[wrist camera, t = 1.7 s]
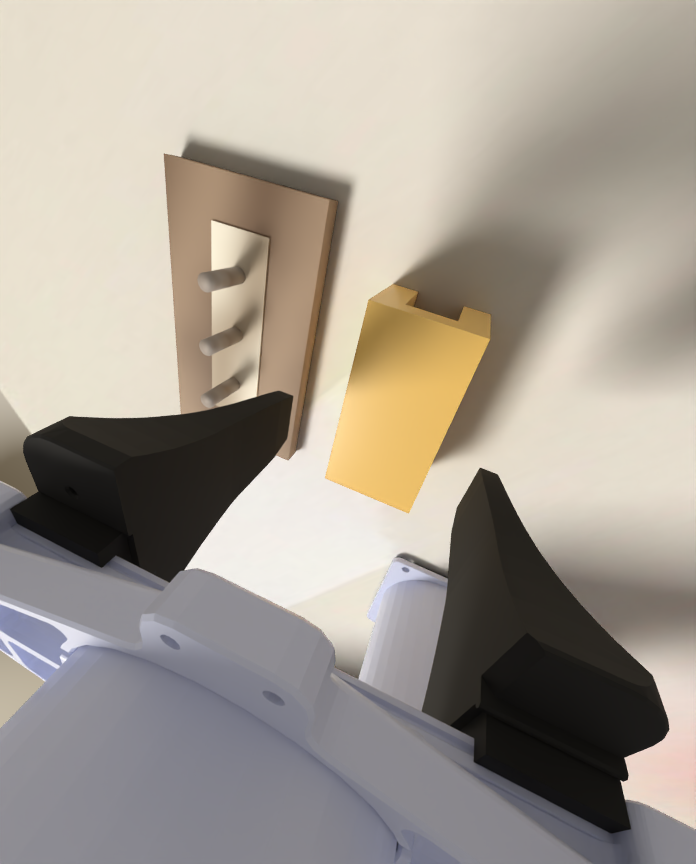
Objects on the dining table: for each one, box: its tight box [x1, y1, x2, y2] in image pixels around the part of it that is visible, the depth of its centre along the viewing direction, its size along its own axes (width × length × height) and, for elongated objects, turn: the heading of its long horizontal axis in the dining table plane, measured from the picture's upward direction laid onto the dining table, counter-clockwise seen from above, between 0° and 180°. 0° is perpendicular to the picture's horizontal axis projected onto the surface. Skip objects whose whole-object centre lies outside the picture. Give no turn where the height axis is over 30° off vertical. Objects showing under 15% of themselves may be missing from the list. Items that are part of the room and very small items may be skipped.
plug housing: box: [325, 284, 491, 513], centre depth 17 cm, size 4×9×4 cm, turn 167°
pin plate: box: [164, 154, 338, 460], centre depth 18 cm, size 8×14×4 cm, turn 167°
